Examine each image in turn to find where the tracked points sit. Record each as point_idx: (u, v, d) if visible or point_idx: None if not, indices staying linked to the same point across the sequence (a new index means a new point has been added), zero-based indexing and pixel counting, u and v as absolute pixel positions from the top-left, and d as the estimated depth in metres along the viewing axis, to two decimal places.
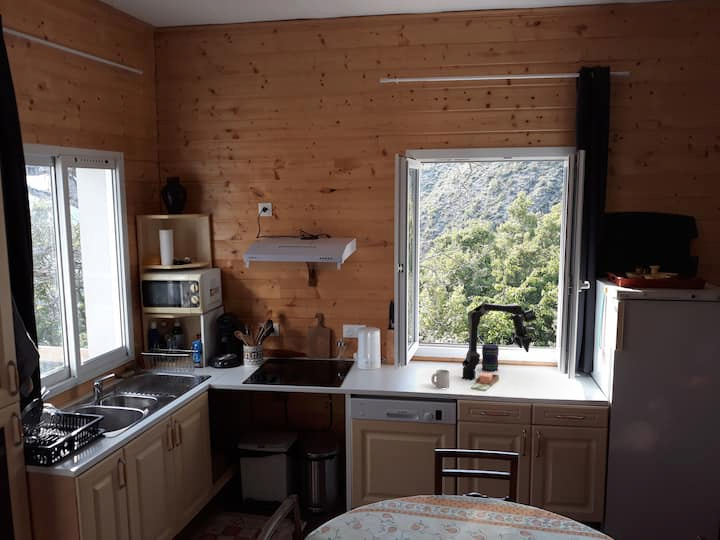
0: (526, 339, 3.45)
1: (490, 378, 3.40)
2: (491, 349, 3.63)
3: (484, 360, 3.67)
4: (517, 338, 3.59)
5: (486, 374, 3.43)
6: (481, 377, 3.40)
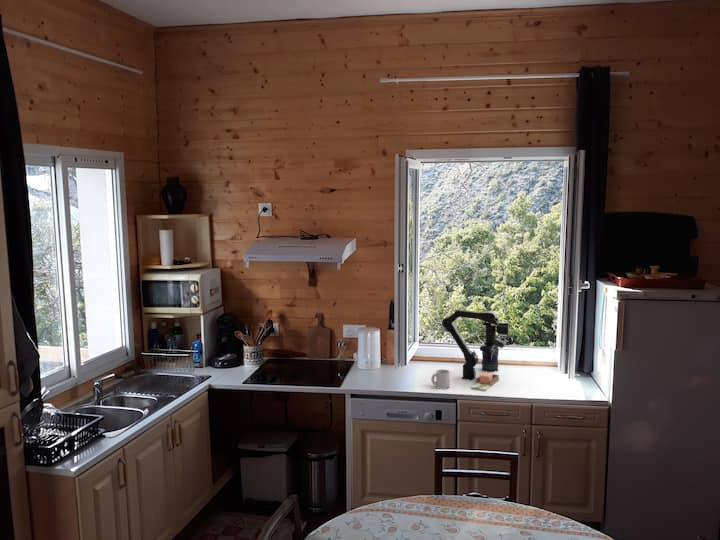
0: (483, 348, 3.38)
1: (490, 378, 3.40)
2: None
3: (484, 360, 3.67)
4: None
5: (486, 374, 3.43)
6: (481, 377, 3.40)
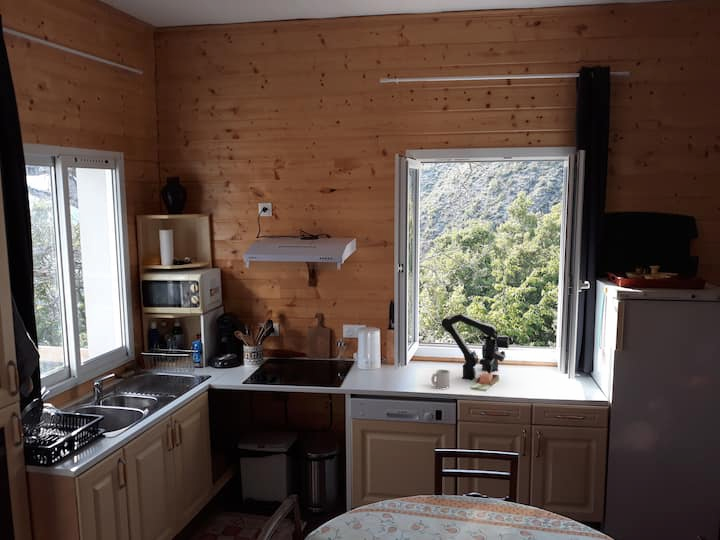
0: (483, 361, 3.39)
1: (490, 378, 3.40)
2: None
3: None
4: None
5: (486, 374, 3.43)
6: (481, 377, 3.40)
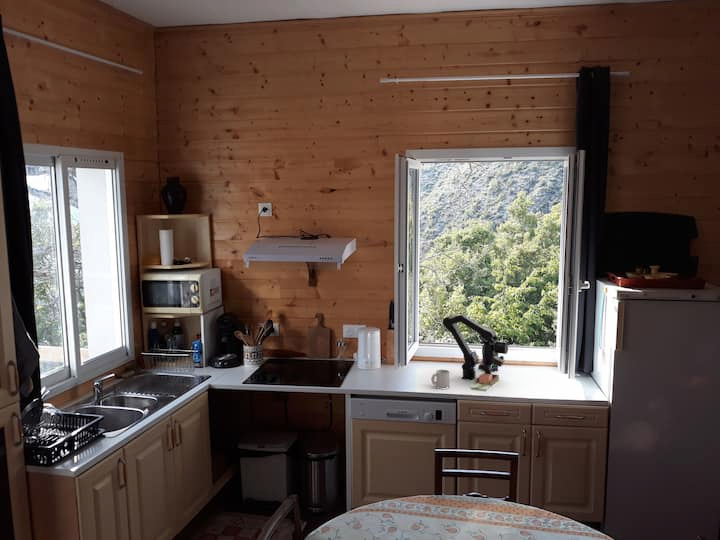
0: (482, 366, 3.37)
1: (490, 378, 3.40)
2: None
3: None
4: None
5: (486, 374, 3.42)
6: (481, 377, 3.40)
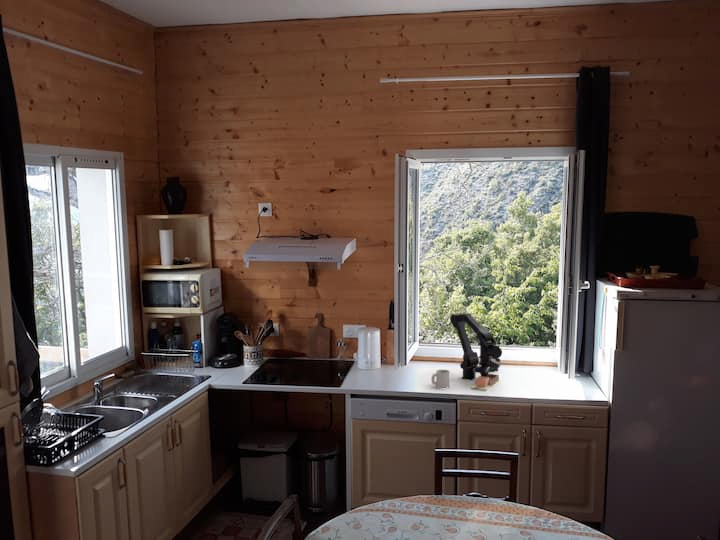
0: (478, 369, 3.32)
1: (486, 381, 3.34)
2: None
3: None
4: None
5: (482, 377, 3.37)
6: (477, 380, 3.34)
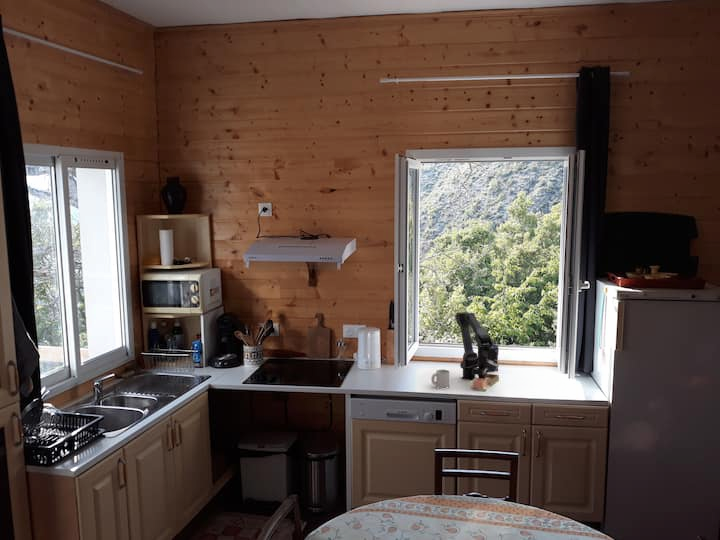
0: (475, 371, 3.29)
1: (484, 383, 3.31)
2: None
3: None
4: None
5: (480, 379, 3.33)
6: (474, 382, 3.31)
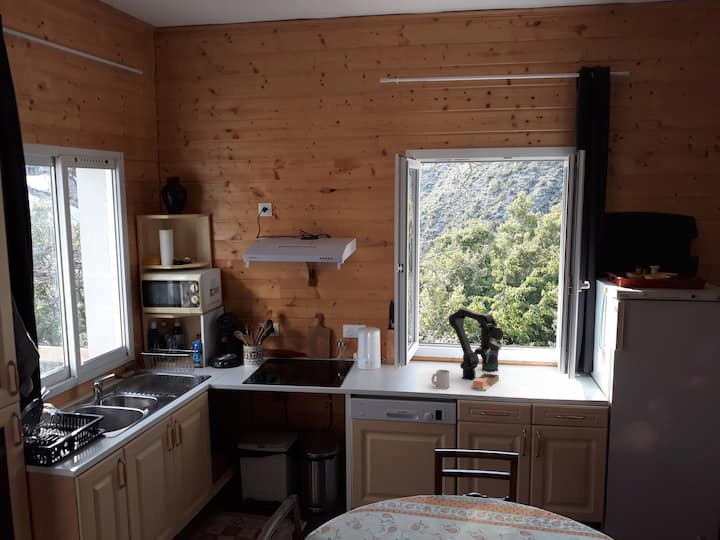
0: (478, 351, 3.32)
1: (484, 383, 3.31)
2: (491, 349, 3.63)
3: None
4: None
5: (480, 379, 3.33)
6: (474, 382, 3.31)
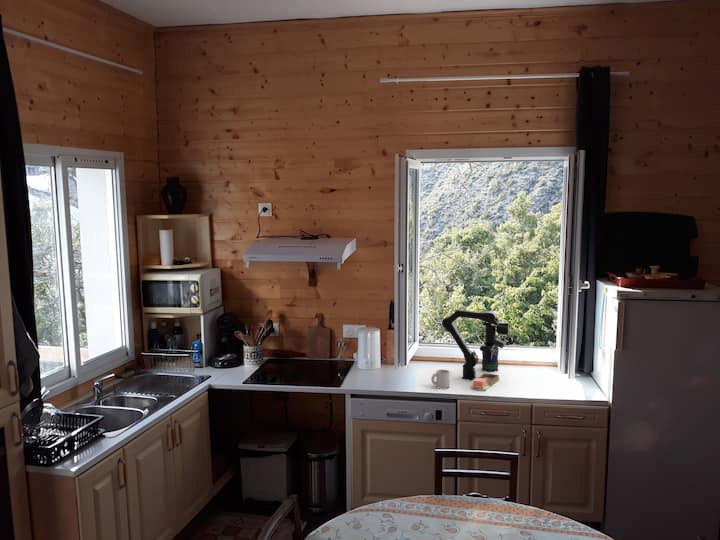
0: (483, 348, 3.38)
1: (484, 383, 3.31)
2: None
3: (484, 360, 3.67)
4: None
5: (480, 379, 3.33)
6: (474, 382, 3.31)
